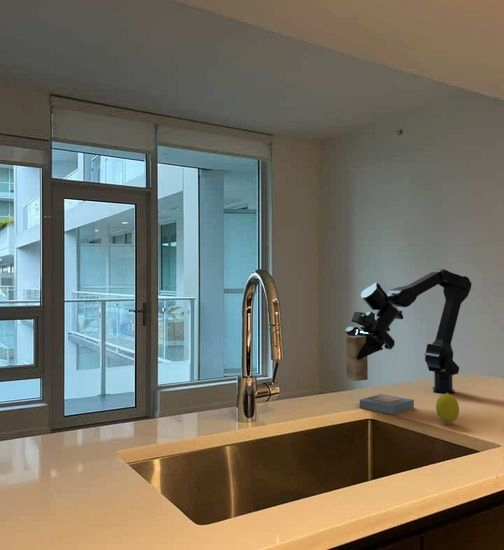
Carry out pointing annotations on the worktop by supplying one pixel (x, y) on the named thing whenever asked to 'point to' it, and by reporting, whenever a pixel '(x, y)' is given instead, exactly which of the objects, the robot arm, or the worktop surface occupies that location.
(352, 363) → the pillar
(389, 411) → the plate
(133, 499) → the worktop surface
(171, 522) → the worktop surface
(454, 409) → the lemon
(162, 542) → the worktop surface
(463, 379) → the worktop surface
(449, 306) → the robot arm
